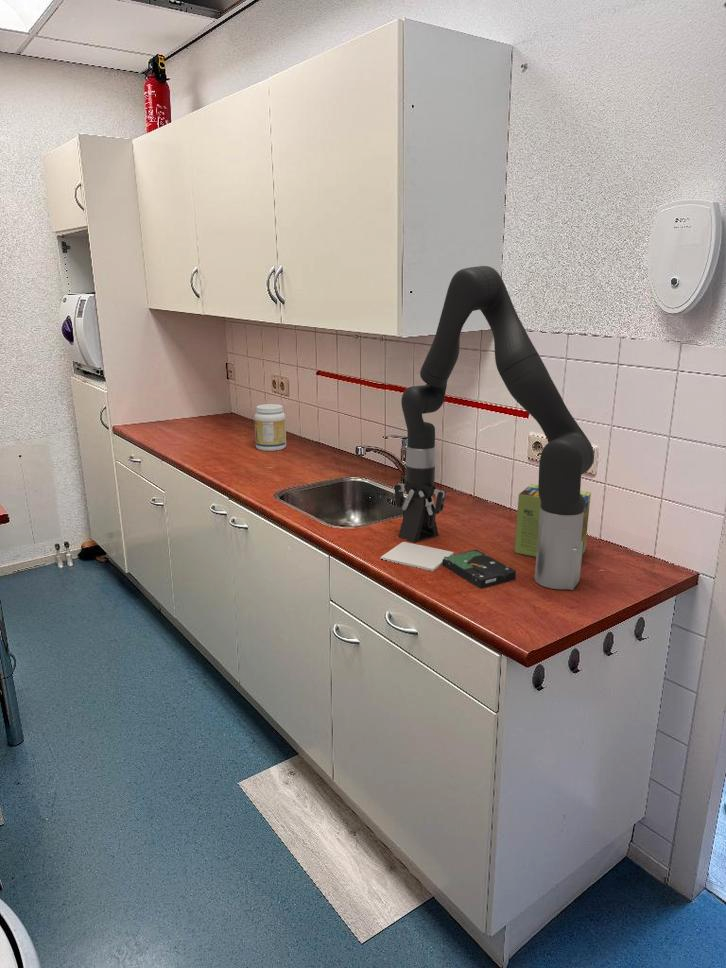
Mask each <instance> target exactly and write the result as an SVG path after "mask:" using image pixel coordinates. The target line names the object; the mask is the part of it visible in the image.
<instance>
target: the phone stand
mask: <svg viewBox="0 0 726 968" xmlns="http://www.w3.org/2000/svg"><path fill="white" fill-rule="evenodd" d="M426 497H427V496H426V495H425V497H420V495H417V496H414V497H413V501H412V500H411V502H410V504H409V505H408V507H407V509H406V510H405V514H404V517H403V516H402V520H401V521H402V522H401V524H400V529H399V531H398V534H397V535H398V536H397V537H399V538H400V539H401V538H402V539H404V540H407V541H408V542H410V543H412V544H416V543H419V542H422V541H425V540H429V539H431V538H435V537H438V536H440V535H439V530H438V527H437V526H438V525H437V522H436V521H435V525H434V526H433V527H432V528H428V527H427V525H428V514H429V513H428V511H427V507H426V505H425V504H424V500H425V498H426ZM432 498H433V497H432ZM432 498H431V497H430V499H429V500H428V502H432ZM431 508H432V506H431Z"/></svg>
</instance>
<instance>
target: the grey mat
mask: <svg viewBox="0 0 726 968" xmlns="http://www.w3.org/2000/svg"><path fill="white" fill-rule="evenodd" d="M454 554H455V552H454V551H450V550H445V549H440V548H436V547H431V546H426V545H421V544H418V543H417V544H416V543H413V542H409V541H402V542H400V543H399V544H398V545H396V546H394V547H393V548H392V549H390V550H389V551H388V552H386V553H384V554H383V555H382V556H380V560H381V559H383V560H382V561H385V560H387V561H386V562H390V561H391V562H390V563H394V562H395V563H394V564H398V563H399V565H403V566H408V567H411V568H416V567H417V569H420V568H421V569H422V570H425V571H429V570H430V571H429V572H435V570H437V569H438V568H439V567H440V566H443V565H442V560H443V559H444V557H445V556H446V557H449V556H453V555H454Z"/></svg>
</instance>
